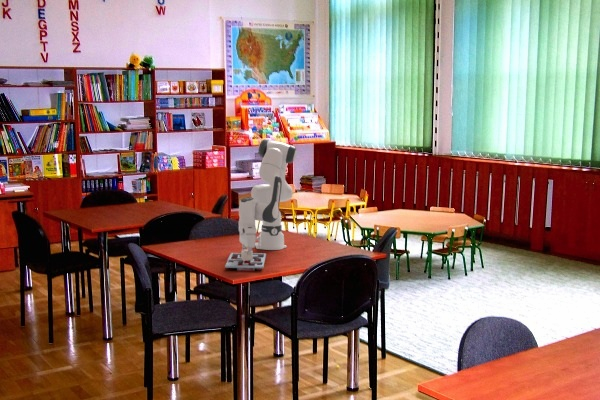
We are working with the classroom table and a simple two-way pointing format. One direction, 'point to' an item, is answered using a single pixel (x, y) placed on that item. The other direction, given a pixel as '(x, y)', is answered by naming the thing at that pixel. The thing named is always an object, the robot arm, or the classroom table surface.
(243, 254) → the cream cube
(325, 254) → the classroom table surface
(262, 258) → the maze game
